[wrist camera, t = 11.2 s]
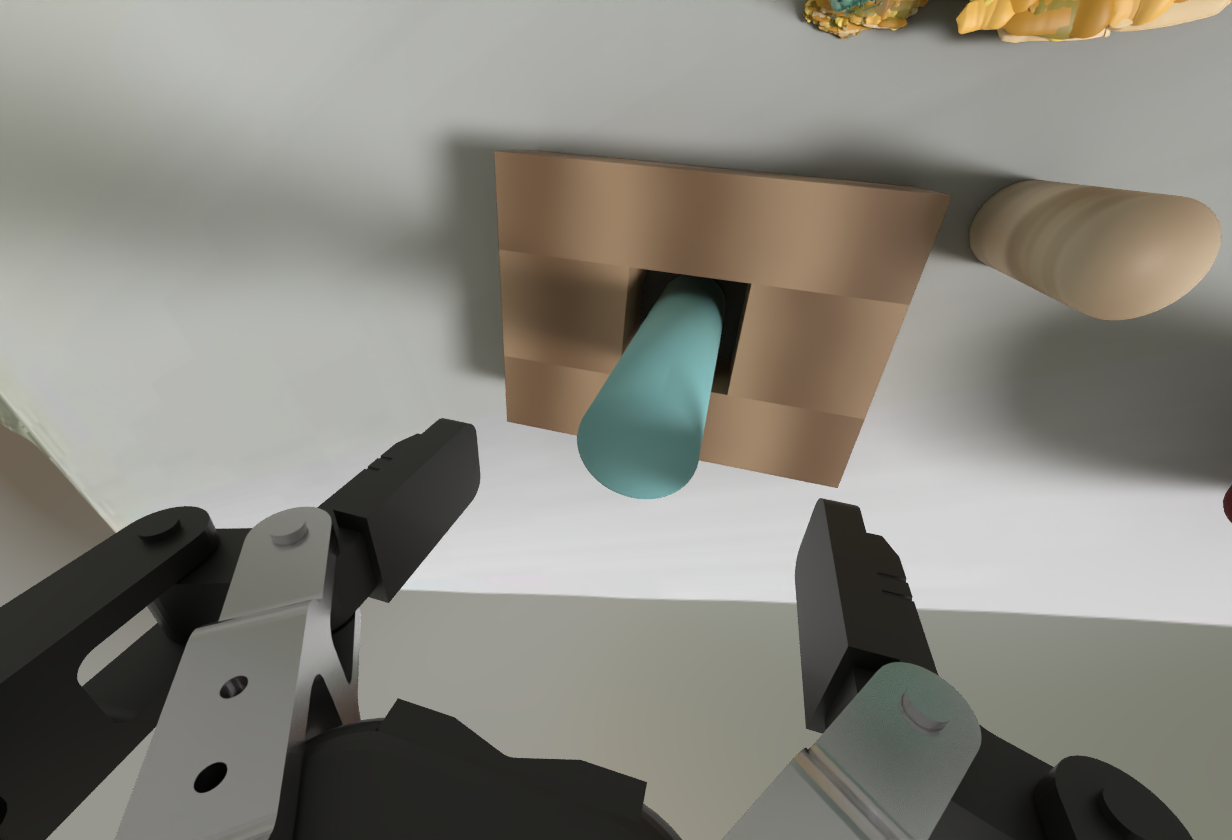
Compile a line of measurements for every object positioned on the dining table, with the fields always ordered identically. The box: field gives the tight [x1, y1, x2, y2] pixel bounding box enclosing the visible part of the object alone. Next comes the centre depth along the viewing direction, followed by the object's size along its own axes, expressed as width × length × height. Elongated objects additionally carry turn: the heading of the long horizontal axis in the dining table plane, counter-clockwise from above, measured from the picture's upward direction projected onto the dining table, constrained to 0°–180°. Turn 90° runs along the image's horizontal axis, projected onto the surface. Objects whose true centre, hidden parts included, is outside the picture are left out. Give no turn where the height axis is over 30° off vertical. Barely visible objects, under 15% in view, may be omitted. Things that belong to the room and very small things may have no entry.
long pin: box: [577, 275, 726, 499], centre depth 18 cm, size 3×3×13 cm
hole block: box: [494, 151, 952, 488], centre depth 22 cm, size 16×12×4 cm
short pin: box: [969, 180, 1222, 320], centre depth 16 cm, size 3×3×7 cm
